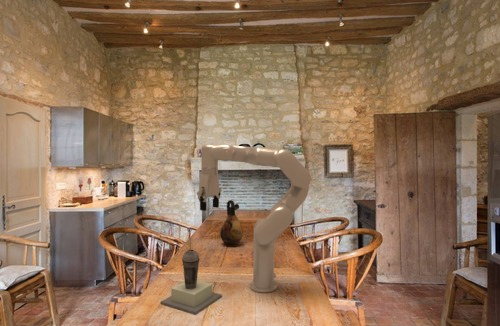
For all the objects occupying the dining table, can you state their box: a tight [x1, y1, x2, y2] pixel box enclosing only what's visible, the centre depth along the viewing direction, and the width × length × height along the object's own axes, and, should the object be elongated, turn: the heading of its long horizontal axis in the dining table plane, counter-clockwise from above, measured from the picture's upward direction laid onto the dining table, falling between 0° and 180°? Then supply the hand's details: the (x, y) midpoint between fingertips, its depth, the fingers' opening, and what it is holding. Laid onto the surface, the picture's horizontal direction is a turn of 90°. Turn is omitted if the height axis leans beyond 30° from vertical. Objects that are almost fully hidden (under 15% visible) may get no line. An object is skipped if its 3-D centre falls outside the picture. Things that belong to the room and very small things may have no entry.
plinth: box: [160, 280, 223, 315], centre depth 137 cm, size 18×18×6 cm
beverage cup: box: [181, 238, 201, 289], centre depth 136 cm, size 7×7×20 cm
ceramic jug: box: [219, 199, 244, 248], centre depth 221 cm, size 17×15×30 cm
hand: (209, 208), depth 150 cm, fingers open, 9 cm apart
